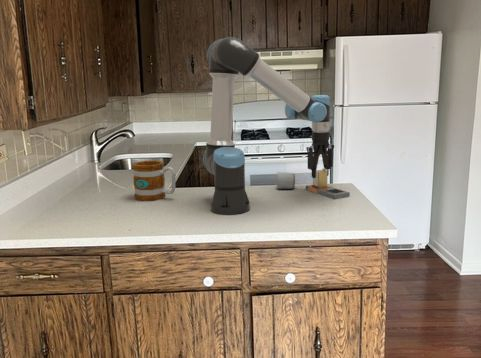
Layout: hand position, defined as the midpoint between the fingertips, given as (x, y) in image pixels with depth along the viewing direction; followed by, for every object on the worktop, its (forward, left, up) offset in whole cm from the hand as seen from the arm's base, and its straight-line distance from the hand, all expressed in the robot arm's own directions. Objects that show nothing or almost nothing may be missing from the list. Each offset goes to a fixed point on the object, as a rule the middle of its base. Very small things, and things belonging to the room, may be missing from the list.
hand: (320, 183), depth 206 cm
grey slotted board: (0, -5, -3) cm, 6 cm away
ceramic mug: (-10, +13, -3) cm, 17 cm away
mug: (-66, +28, -3) cm, 72 cm away
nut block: (0, 0, -2) cm, 2 cm away
